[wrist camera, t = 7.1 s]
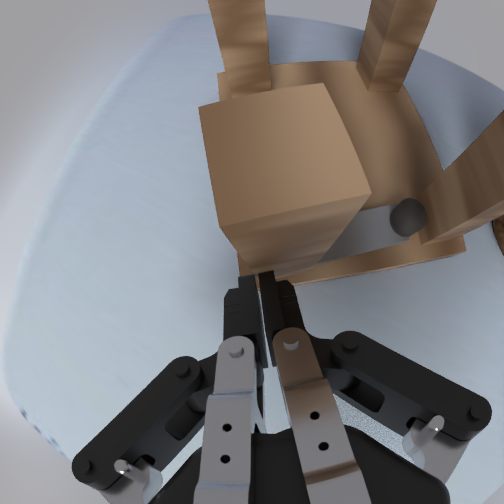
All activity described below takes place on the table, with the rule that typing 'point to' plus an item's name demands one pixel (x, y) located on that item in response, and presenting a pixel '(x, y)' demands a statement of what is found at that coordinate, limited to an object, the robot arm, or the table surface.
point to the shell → (499, 231)
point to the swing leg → (294, 183)
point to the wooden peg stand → (375, 130)
